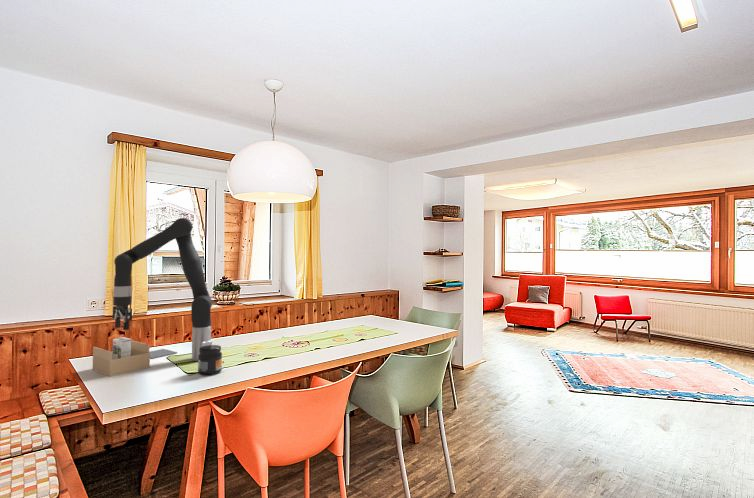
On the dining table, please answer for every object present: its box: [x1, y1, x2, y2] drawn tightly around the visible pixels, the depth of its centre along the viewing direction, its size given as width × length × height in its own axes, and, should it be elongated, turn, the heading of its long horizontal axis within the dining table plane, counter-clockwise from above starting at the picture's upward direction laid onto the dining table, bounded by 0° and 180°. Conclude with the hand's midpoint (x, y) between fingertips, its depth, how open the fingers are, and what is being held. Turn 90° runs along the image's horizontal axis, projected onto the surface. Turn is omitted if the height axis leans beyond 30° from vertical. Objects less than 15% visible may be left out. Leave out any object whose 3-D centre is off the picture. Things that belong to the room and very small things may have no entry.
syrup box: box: [112, 336, 132, 360], centre depth 194 cm, size 6×6×14 cm
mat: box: [149, 348, 178, 360], centre depth 220 cm, size 14×14×1 cm
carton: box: [92, 339, 151, 377], centre depth 194 cm, size 18×18×11 cm
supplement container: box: [197, 344, 223, 376], centre depth 188 cm, size 10×10×12 cm
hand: (121, 328), depth 194 cm, fingers open, 8 cm apart
